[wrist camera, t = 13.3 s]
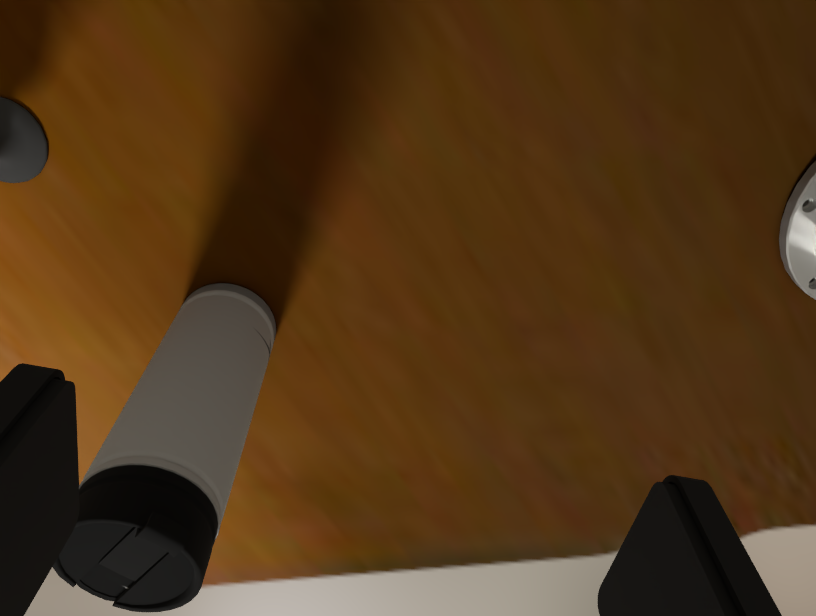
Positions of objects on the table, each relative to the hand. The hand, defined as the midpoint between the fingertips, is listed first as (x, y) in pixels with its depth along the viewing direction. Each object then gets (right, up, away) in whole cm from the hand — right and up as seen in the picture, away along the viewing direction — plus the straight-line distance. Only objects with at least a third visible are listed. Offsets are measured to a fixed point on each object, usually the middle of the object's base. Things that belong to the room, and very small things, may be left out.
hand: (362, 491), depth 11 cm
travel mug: (-11, +2, +33) cm, 35 cm away
